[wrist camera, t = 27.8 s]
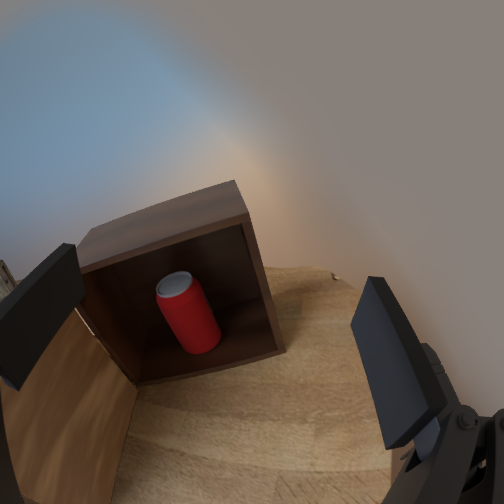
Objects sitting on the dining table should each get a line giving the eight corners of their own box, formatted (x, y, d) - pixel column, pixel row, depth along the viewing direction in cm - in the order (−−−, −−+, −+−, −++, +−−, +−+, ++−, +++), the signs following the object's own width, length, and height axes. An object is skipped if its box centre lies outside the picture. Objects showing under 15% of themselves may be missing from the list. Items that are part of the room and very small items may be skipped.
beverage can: (226, 325, 46) (202, 265, 40) (217, 357, 40) (187, 297, 34) (190, 327, 47) (162, 270, 41) (178, 357, 42) (143, 300, 36)
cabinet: (286, 352, 39) (248, 211, 28) (137, 386, 39) (55, 276, 28) (266, 295, 51) (234, 179, 41) (145, 328, 51) (90, 228, 40)
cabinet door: (72, 513, 18) (-61, 432, 7) (108, 389, 39) (29, 286, 28) (106, 527, 17) (-45, 451, 6) (138, 390, 38) (56, 279, 27)
